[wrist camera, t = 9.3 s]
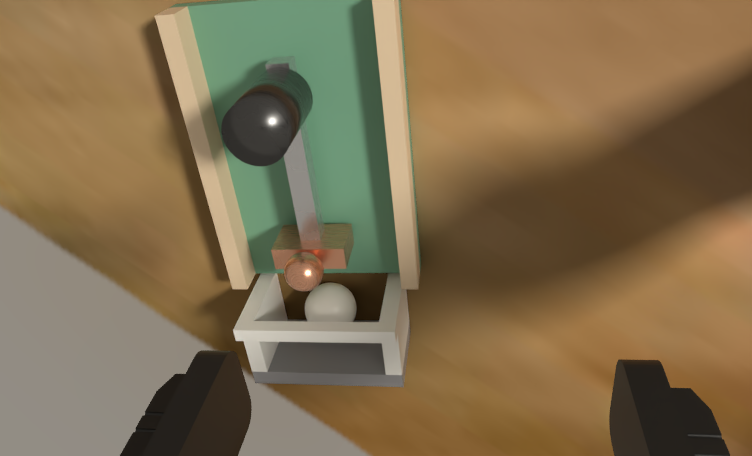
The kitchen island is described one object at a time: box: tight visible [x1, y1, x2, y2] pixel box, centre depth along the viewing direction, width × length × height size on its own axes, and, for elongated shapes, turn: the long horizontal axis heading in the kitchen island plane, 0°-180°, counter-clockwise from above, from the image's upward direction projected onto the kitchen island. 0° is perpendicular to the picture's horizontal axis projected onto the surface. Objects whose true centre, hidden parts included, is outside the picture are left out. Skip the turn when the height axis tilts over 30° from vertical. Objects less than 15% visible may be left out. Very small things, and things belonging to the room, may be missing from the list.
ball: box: [305, 282, 357, 322], centre depth 47 cm, size 4×4×4 cm
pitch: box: [155, 0, 421, 289], centre depth 40 cm, size 14×20×3 cm
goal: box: [233, 273, 410, 387], centre depth 46 cm, size 11×6×7 cm, turn 96°
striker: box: [221, 56, 354, 292], centre depth 37 cm, size 5×14×8 cm, turn 6°
